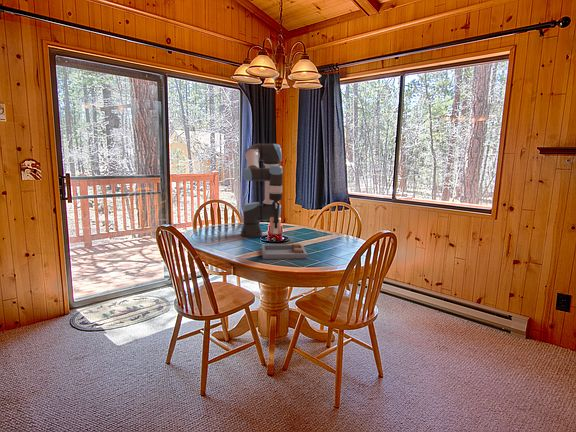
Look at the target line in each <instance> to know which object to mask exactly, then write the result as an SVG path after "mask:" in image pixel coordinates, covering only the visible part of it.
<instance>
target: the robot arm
mask: <svg viewBox="0 0 576 432" xmlns="http://www.w3.org/2000/svg"><path fill="white" fill-rule="evenodd" d="M244 156H245V157H244V158H245V160H246V167H245V168H243V180H244V181H245V182H246V181H247V182H264V200H263V201H262V204H260V202H259V201H255V202H248V203H245V204H244V205H243V207H242V208H243V210H242V212H243V213H242V217H243V219H242V222H243V223H242V228H241V231H240V236H241V237H245V238H257V237H261V236H262V235H263V232H262V228H261V224H260V221H261V222H265V221H266V222H270V217H274V222H273V234H272V235H279V234H278V222H279V221H278V217H281V212H282V204H280V202H279V201H282V200H283V176H284V175H283V174H284V171H283V166H282V165H280V163H281V162H282V161H283V153H282V148H281V145H280V144H278V143H255V144H252V145H250V146H249V147H248V148H247V149H246V150H245V154H244ZM259 162H262V164H263V165H264V167H260V164H259Z"/></svg>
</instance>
